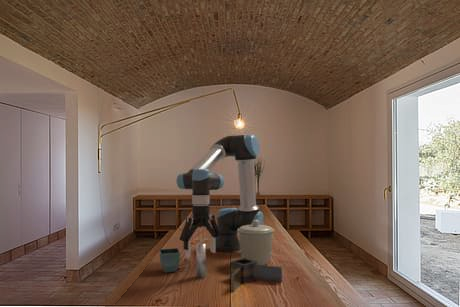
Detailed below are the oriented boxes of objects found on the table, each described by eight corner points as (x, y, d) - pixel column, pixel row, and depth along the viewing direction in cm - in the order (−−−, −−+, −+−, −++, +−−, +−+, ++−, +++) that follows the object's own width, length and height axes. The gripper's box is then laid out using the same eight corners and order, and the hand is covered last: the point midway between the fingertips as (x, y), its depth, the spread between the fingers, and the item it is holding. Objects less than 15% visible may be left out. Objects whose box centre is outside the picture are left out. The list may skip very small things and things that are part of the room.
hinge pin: (201, 274, 152) (201, 242, 152) (207, 277, 149) (207, 243, 149) (194, 276, 149) (194, 243, 150) (200, 279, 146) (200, 245, 147)
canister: (277, 259, 175) (276, 217, 176) (271, 270, 158) (271, 223, 159) (242, 257, 180) (242, 216, 181) (233, 267, 163) (232, 222, 163)
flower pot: (160, 274, 153) (160, 253, 153) (159, 268, 161) (159, 249, 161) (180, 272, 155) (180, 252, 155) (178, 267, 163) (178, 248, 164)
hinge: (251, 272, 155) (251, 256, 155) (283, 281, 142) (282, 264, 142) (212, 283, 140) (212, 266, 140) (243, 295, 127) (243, 276, 127)
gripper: (217, 202, 161) (217, 248, 160) (171, 206, 144) (170, 258, 143) (228, 203, 156) (228, 251, 154) (181, 207, 139) (181, 261, 138)
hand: (200, 254), depth 149 cm, fingers open, 13 cm apart
